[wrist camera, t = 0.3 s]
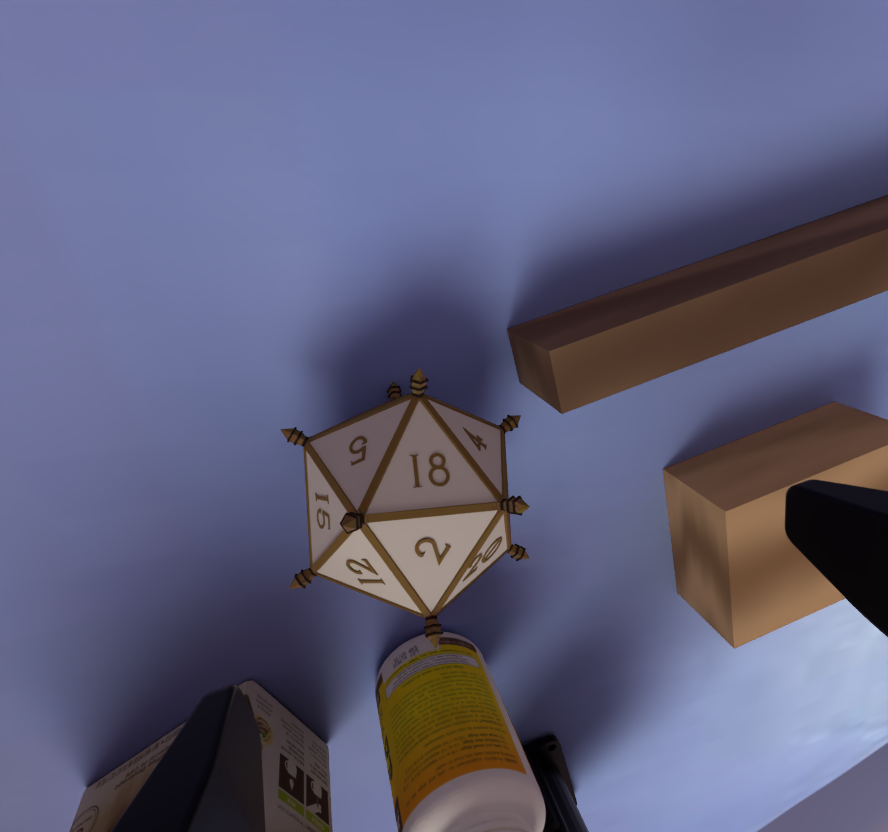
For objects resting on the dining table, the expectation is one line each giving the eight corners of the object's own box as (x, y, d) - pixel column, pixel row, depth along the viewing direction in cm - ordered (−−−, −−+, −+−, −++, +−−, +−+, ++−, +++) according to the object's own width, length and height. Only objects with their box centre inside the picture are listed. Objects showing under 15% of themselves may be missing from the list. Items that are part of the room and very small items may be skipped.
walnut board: (942, 227, 26) (1049, 229, 22) (519, 382, 23) (561, 414, 19) (947, 173, 25) (1059, 166, 21) (506, 329, 22) (548, 351, 18)
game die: (404, 388, 26) (598, 363, 19) (415, 568, 26) (613, 610, 19) (216, 387, 19) (403, 349, 12) (229, 627, 19) (425, 727, 12)
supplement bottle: (351, 667, 26) (383, 921, 16) (452, 605, 26) (539, 822, 17) (406, 732, 28) (461, 987, 19) (499, 675, 28) (598, 899, 19)
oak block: (826, 524, 31) (906, 570, 27) (674, 589, 30) (734, 648, 26) (829, 400, 28) (921, 431, 24) (659, 466, 27) (725, 512, 23)
